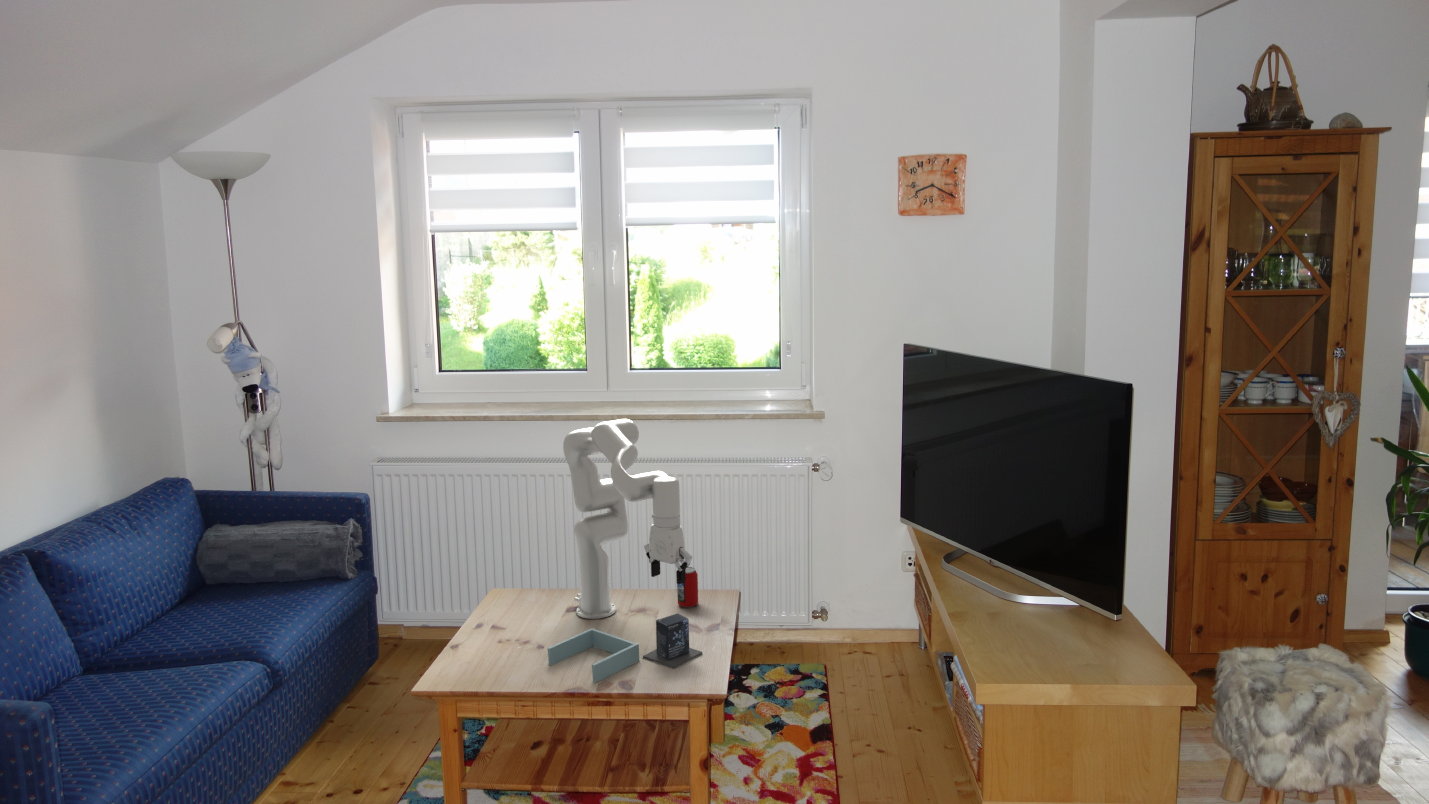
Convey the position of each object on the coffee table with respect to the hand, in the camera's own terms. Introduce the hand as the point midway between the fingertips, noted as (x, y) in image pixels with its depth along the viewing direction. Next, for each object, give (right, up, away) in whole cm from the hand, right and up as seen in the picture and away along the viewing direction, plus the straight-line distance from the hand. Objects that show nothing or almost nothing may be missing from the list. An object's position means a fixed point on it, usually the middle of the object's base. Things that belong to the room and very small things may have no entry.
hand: (668, 579), depth 264 cm
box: (+1, -22, +2) cm, 22 cm away
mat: (+1, -22, +2) cm, 22 cm away
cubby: (-21, -23, -1) cm, 32 cm away
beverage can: (+4, -16, +40) cm, 44 cm away
